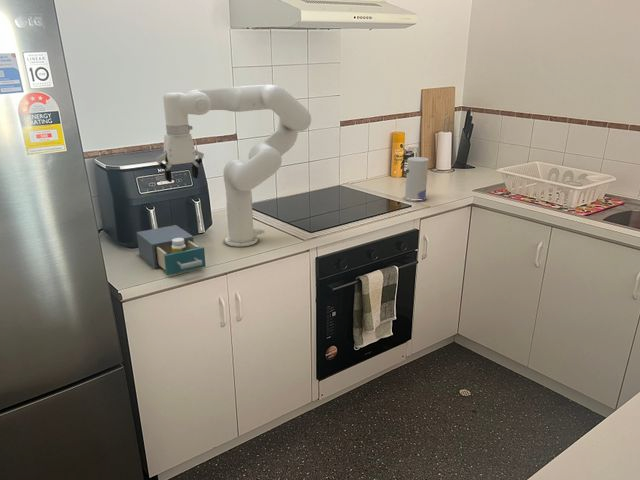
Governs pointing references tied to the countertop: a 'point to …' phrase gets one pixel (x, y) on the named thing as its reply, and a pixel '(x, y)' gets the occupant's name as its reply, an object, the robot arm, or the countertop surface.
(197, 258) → the drawer
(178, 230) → the drawer cabinet
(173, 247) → the supplement bottle
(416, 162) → the container
